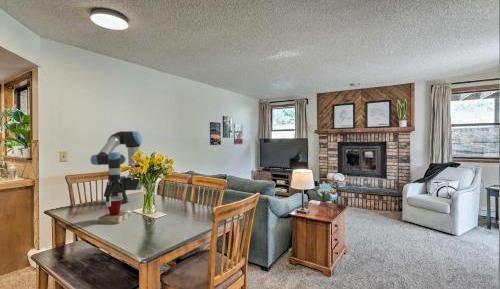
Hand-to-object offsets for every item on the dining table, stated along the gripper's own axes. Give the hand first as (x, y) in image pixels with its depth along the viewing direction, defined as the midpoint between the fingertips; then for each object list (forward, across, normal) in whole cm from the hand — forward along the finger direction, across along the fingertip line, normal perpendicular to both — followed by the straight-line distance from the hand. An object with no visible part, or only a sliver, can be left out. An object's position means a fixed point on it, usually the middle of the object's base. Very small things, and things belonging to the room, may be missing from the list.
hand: (114, 204), depth 177 cm
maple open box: (+12, 0, 0) cm, 12 cm away
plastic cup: (+8, 0, 0) cm, 8 cm away
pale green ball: (+12, -12, +1) cm, 17 cm away
